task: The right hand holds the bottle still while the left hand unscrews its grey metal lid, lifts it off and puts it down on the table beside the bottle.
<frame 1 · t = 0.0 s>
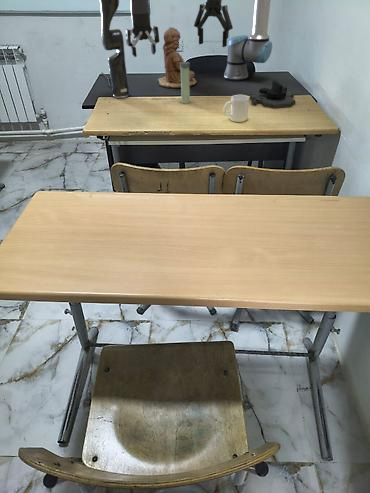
left hand: (144, 55, 157), 29 cm above the table, tool pointing down, fingers open, 8 cm apart
right hand: (212, 45, 175), 28 cm above the table, tool pointing down, fingers open, 13 cm apart
bottle: (185, 102, 196), on the table
lid: (184, 63, 183), point 19 cm above the table, screwed on, not yet turned
abstract sculpture: (273, 101, 192), on the table
mug: (234, 119, 174), on the table
sculpture: (177, 82, 224), on the table
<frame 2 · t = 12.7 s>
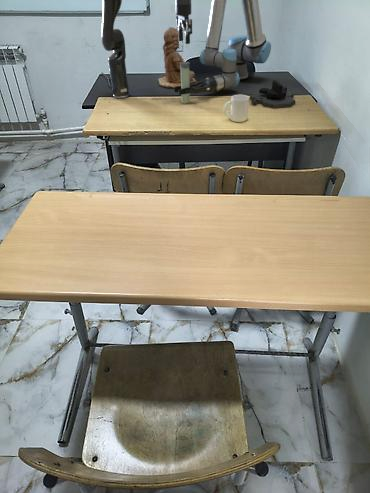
left hand: (184, 42, 177), 29 cm above the table, tool pointing down, fingers open, 7 cm apart
right hand: (176, 91, 189), 7 cm above the table, tool horizontal, fingers closed on bottle, 5 cm apart
bottle: (185, 102, 196), on the table, touching right hand
everything else where it was.
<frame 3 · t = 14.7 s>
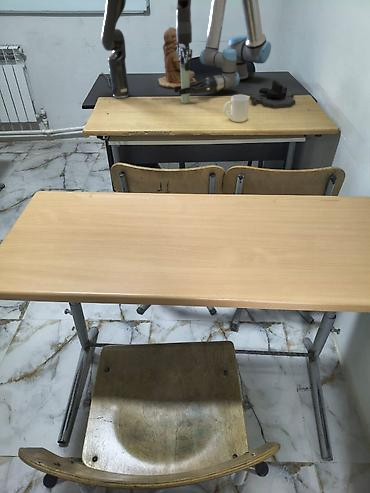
left hand: (184, 69, 185), 17 cm above the table, tool pointing down, fingers closed on lid, 5 cm apart
right hand: (176, 91, 189), 7 cm above the table, tool horizontal, fingers closed on bottle, 5 cm apart
bottle: (185, 102, 196), on the table, touching right hand
lid: (184, 63, 183), point 19 cm above the table, screwed on, not yet turned, touching left hand
everything else where it was.
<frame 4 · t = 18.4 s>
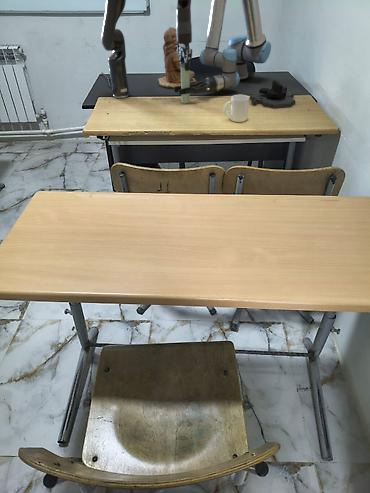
left hand: (184, 69, 185), 17 cm above the table, tool pointing down, fingers closed on lid, 5 cm apart
right hand: (176, 91, 189), 7 cm above the table, tool horizontal, fingers closed on bottle, 5 cm apart
bottle: (185, 102, 196), on the table, touching right hand
lid: (184, 63, 183), point 19 cm above the table, turned 80° so far, risen 0.1 cm, still on its thread, touching left hand
everything else where it was.
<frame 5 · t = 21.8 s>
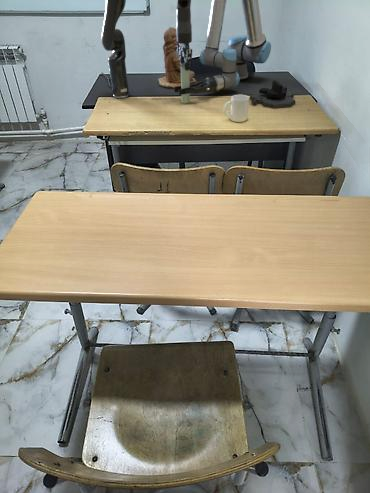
left hand: (184, 68, 185), 17 cm above the table, tool pointing down, fingers closed on lid, 5 cm apart
right hand: (176, 91, 189), 7 cm above the table, tool horizontal, fingers closed on bottle, 4 cm apart
bottle: (185, 102, 196), on the table, touching right hand
lid: (184, 63, 183), point 20 cm above the table, turned 161° so far, risen 0.2 cm, still on its thread, touching left hand
everything else where it was.
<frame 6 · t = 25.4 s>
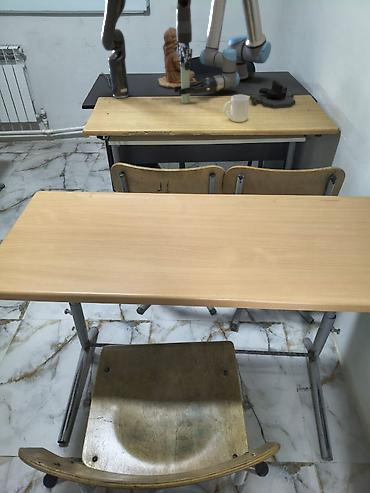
left hand: (184, 68, 185), 17 cm above the table, tool pointing down, fingers closed on lid, 5 cm apart
right hand: (176, 91, 189), 7 cm above the table, tool horizontal, fingers closed on bottle, 5 cm apart
bottle: (185, 102, 196), on the table, touching right hand
lid: (184, 62, 183), point 20 cm above the table, turned 241° so far, risen 0.3 cm, still on its thread, touching left hand
everything else where it was.
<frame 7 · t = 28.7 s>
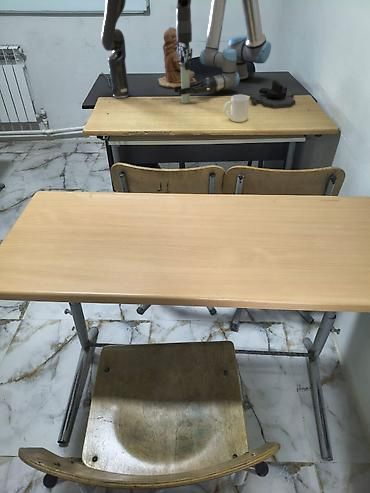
left hand: (184, 68, 185), 17 cm above the table, tool pointing down, fingers closed on lid, 5 cm apart
right hand: (176, 91, 189), 7 cm above the table, tool horizontal, fingers closed on bottle, 5 cm apart
bottle: (185, 102, 196), on the table, touching right hand
lid: (184, 62, 183), point 20 cm above the table, turned 322° so far, risen 0.4 cm, still on its thread, touching left hand
everything else where it was.
when the left hand's fingers open (0 cm above the table, at t = 38.9 s): lid drops 2 cm, point 1 cm above the table.
when the right hand's fingers open (7 cm above the table, at t = 39.8 s): bottle stays where it is, on the table.
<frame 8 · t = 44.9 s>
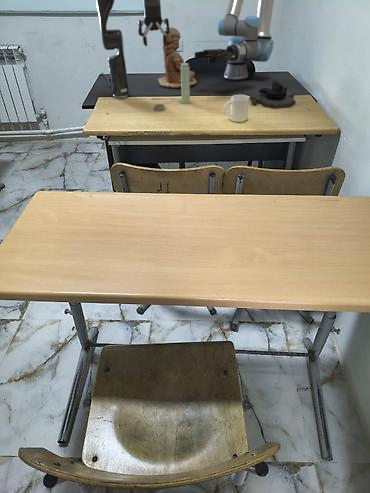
left hand: (155, 45, 169), 30 cm above the table, tool pointing down, fingers open, 8 cm apart
right hand: (201, 57, 186), 21 cm above the table, tool horizontal, fingers open, 13 cm apart
bottle: (185, 102, 196), on the table
lid: (159, 106, 187), point 1 cm above the table, off its thread
everything else where it was.
at the end: lid came off its thread; lid point 1.5 cm above the table; the left hand is holding nothing; the right hand is holding nothing; bottle tilted 0°; bottle moved 0.1 cm from its start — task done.
